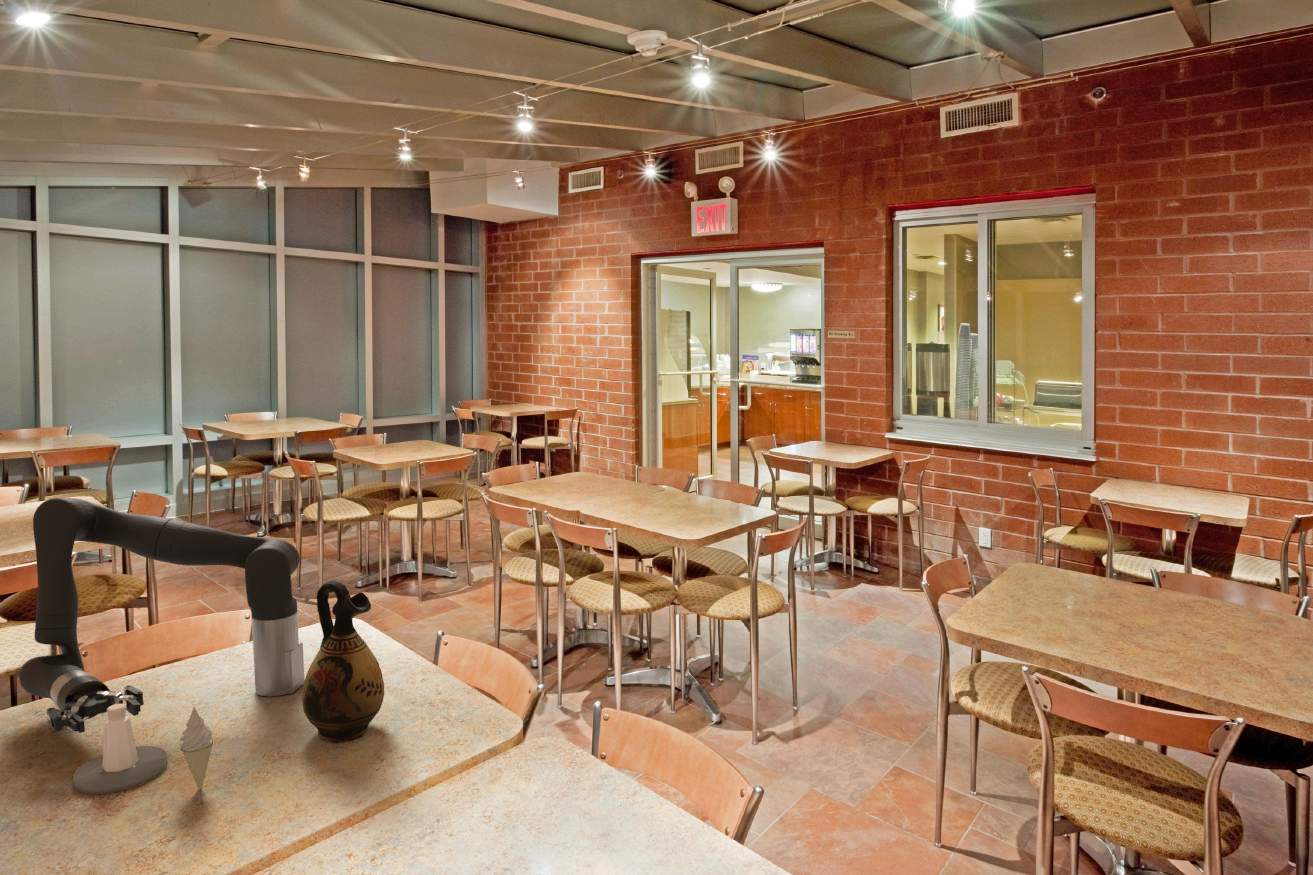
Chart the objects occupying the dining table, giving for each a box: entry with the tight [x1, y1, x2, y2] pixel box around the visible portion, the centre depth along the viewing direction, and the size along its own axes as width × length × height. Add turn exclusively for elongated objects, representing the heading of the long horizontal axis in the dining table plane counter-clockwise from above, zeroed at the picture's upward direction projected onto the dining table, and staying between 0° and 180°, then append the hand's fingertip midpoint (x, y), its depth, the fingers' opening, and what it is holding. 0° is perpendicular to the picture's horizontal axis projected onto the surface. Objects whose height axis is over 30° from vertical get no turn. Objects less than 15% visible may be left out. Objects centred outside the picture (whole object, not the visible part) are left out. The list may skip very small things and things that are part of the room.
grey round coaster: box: [72, 745, 168, 795], centre depth 144 cm, size 14×14×2 cm
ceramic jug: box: [301, 580, 385, 744], centre depth 159 cm, size 17×15×30 cm
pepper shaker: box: [102, 703, 138, 772], centre depth 144 cm, size 5×5×11 cm
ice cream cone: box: [179, 706, 215, 791], centre depth 138 cm, size 5×5×15 cm
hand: (110, 718), depth 146 cm, fingers open, 8 cm apart
